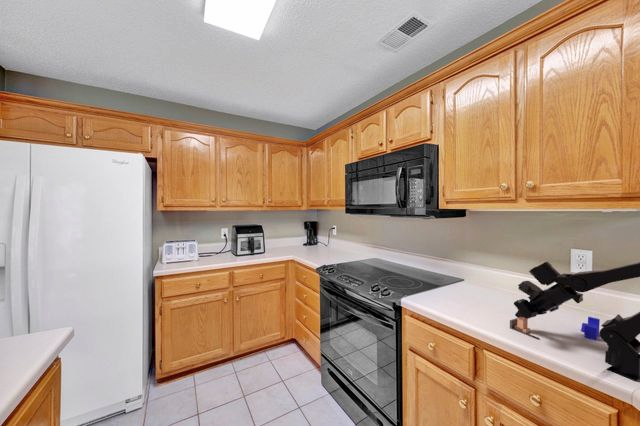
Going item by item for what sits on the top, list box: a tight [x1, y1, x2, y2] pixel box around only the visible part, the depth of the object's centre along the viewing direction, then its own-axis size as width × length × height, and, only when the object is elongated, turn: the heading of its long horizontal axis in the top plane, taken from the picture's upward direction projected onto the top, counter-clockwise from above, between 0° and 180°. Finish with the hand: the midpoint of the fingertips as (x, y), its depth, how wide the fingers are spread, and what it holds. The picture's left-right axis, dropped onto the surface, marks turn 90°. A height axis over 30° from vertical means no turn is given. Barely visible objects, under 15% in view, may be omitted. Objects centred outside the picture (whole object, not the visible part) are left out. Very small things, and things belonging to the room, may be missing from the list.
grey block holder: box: [509, 317, 540, 340], centre depth 98 cm, size 10×5×4 cm, turn 24°
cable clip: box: [580, 316, 601, 342], centre depth 98 cm, size 12×4×6 cm, turn 129°
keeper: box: [514, 317, 531, 334], centre depth 100 cm, size 4×3×9 cm
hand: (518, 315), depth 101 cm, fingers closed on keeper, 3 cm apart
